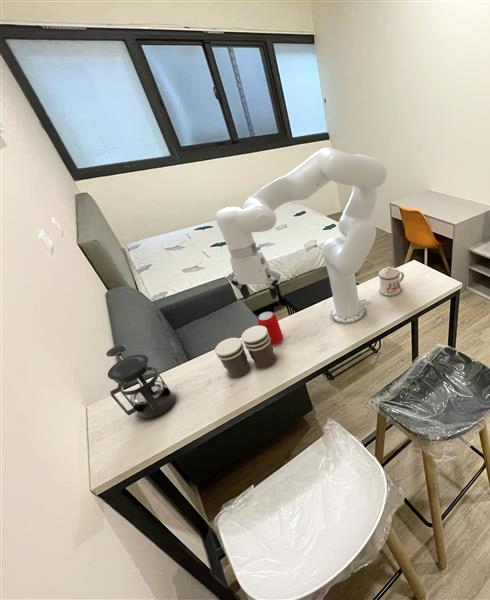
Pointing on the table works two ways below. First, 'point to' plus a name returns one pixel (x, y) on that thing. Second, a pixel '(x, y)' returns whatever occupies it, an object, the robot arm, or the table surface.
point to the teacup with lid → (390, 281)
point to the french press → (146, 392)
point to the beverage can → (271, 327)
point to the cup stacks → (235, 355)
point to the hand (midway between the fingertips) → (261, 296)
